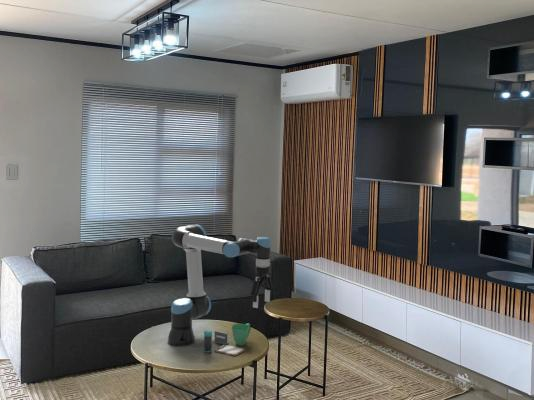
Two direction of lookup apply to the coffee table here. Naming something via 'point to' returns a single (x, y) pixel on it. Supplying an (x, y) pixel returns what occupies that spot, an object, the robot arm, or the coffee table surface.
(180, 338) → the robot arm
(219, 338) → the gray bookend
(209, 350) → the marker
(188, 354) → the coffee table surface
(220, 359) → the coffee table surface
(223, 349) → the clipboard
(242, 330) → the mug
